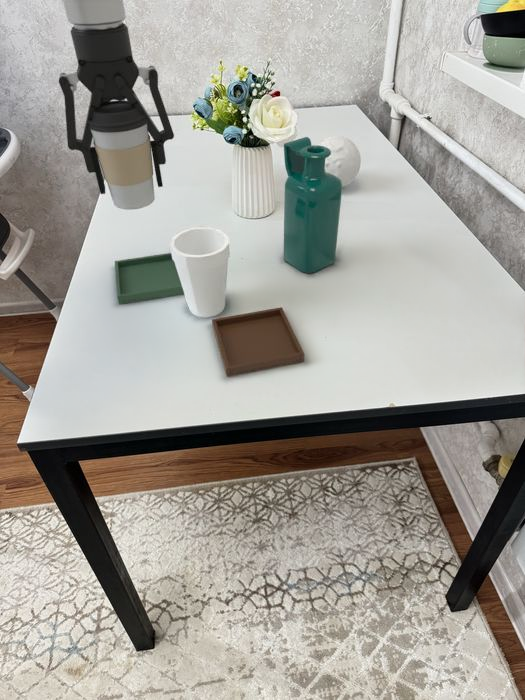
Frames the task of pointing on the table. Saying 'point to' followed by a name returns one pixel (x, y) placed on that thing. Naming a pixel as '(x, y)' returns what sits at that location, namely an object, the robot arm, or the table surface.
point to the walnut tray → (256, 341)
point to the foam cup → (202, 268)
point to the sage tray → (147, 278)
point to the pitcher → (310, 207)
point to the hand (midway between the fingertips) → (131, 186)
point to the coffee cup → (124, 153)
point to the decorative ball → (342, 158)
